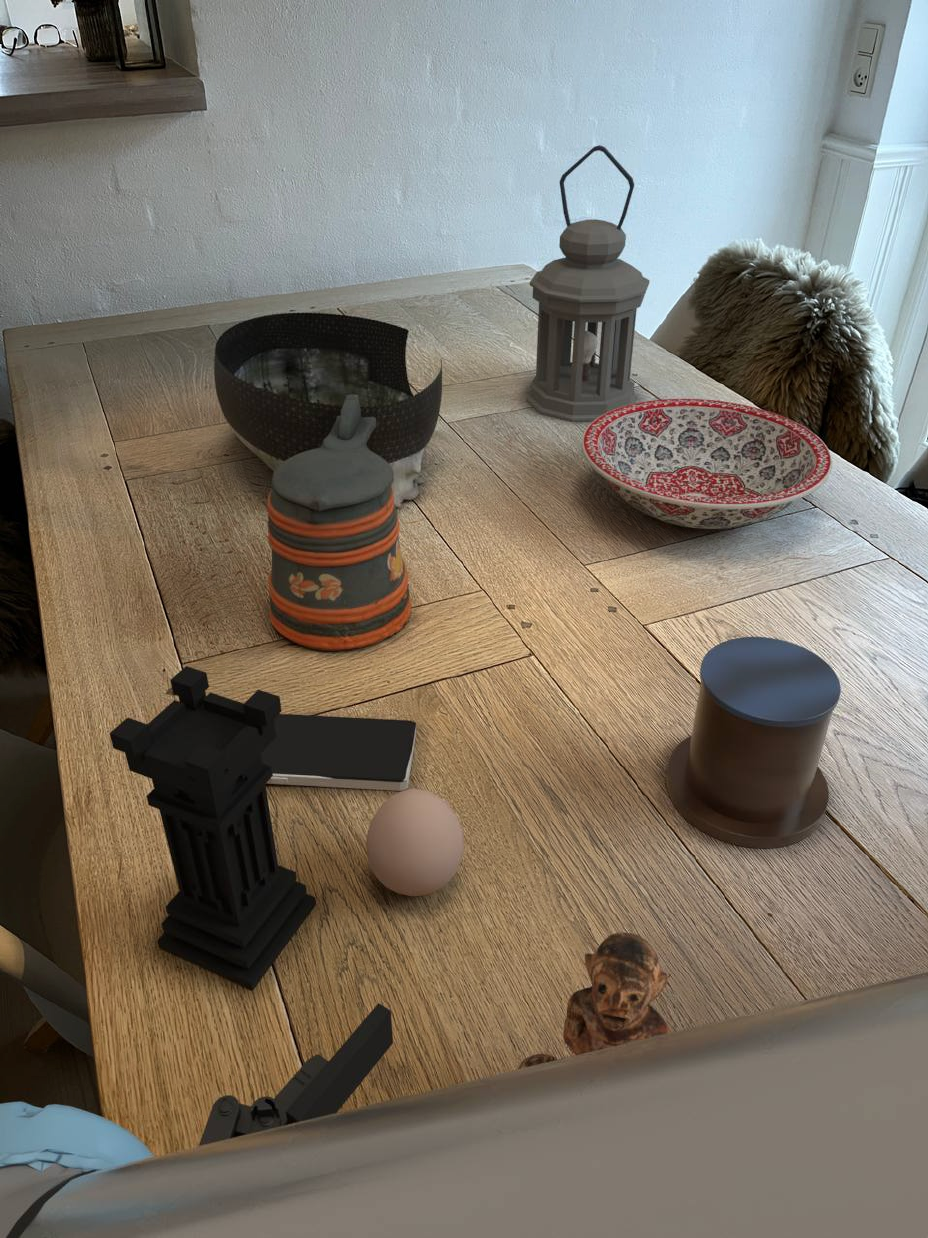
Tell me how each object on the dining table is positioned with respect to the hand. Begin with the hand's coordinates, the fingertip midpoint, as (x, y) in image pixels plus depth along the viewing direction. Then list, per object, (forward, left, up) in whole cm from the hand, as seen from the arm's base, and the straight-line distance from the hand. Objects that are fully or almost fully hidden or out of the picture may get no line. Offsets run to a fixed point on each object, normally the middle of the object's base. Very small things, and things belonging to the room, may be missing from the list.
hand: (504, 1099), depth 46 cm
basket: (+92, -34, -16) cm, 99 cm away
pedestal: (+19, -37, -16) cm, 44 cm away
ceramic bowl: (+58, -67, -16) cm, 90 cm away
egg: (+25, -9, -16) cm, 31 cm away
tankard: (+62, -21, -16) cm, 67 cm away
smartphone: (+41, -9, -16) cm, 45 cm away
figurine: (+4, -9, -16) cm, 19 cm away
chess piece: (+28, +4, -16) cm, 32 cm away
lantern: (+92, -75, -16) cm, 120 cm away
